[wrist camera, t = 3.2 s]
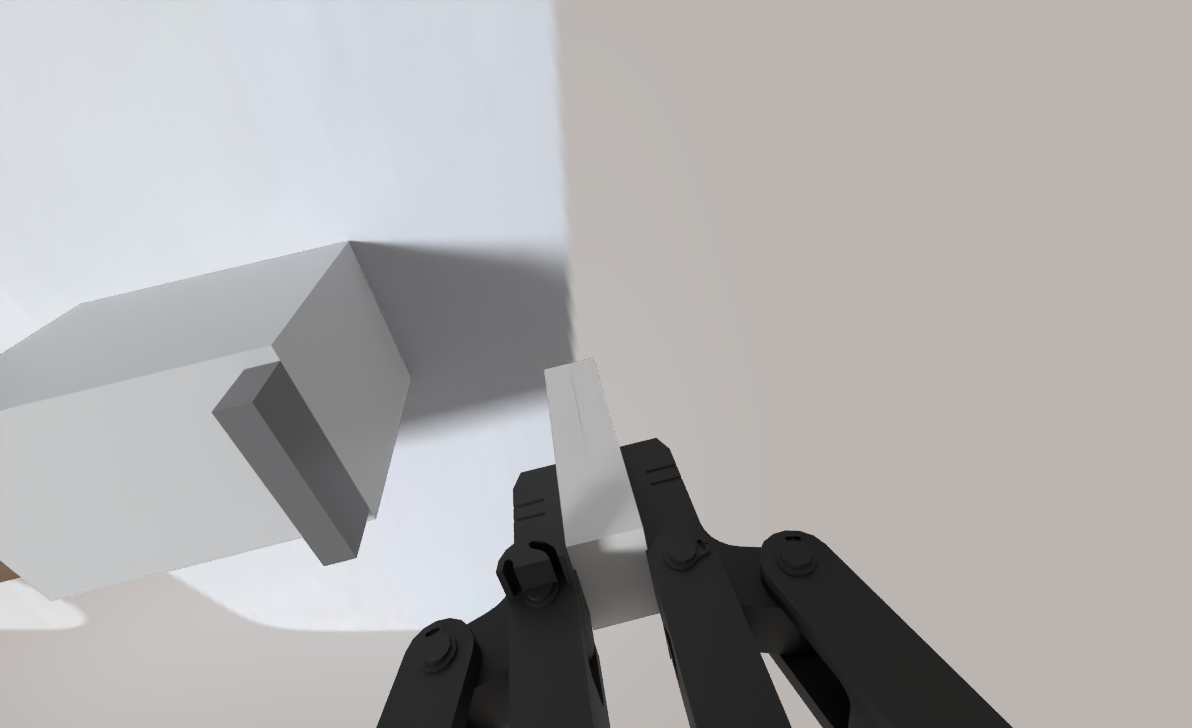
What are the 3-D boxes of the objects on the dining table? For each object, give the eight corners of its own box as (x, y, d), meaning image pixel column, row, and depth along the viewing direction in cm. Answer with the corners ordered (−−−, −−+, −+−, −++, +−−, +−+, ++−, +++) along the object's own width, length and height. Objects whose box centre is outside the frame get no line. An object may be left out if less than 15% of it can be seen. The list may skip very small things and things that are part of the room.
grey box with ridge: (81, 303, 22) (-231, 499, 12) (349, 240, 22) (240, 385, 13) (184, 433, 25) (4, 660, 16) (411, 377, 26) (363, 568, 16)
